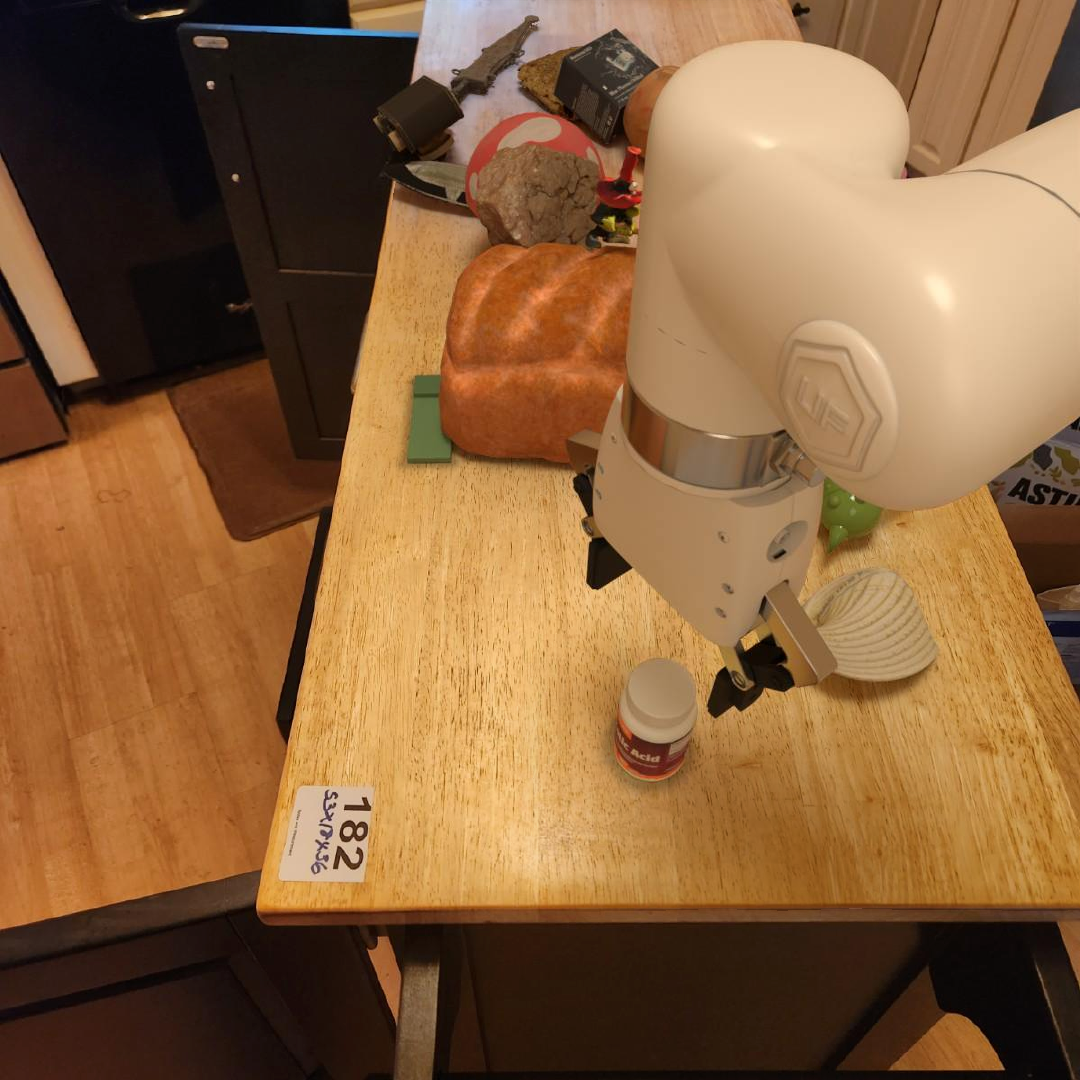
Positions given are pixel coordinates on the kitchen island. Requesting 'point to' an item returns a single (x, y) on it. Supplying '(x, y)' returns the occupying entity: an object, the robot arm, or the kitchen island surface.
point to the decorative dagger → (490, 61)
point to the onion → (644, 106)
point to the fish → (432, 179)
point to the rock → (537, 196)
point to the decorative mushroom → (528, 131)
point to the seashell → (872, 625)
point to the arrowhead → (404, 158)
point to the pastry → (546, 81)
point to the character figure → (846, 515)
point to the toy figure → (616, 206)
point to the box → (602, 82)
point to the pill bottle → (655, 719)
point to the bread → (535, 348)
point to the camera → (420, 118)
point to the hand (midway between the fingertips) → (668, 634)
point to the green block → (427, 424)
